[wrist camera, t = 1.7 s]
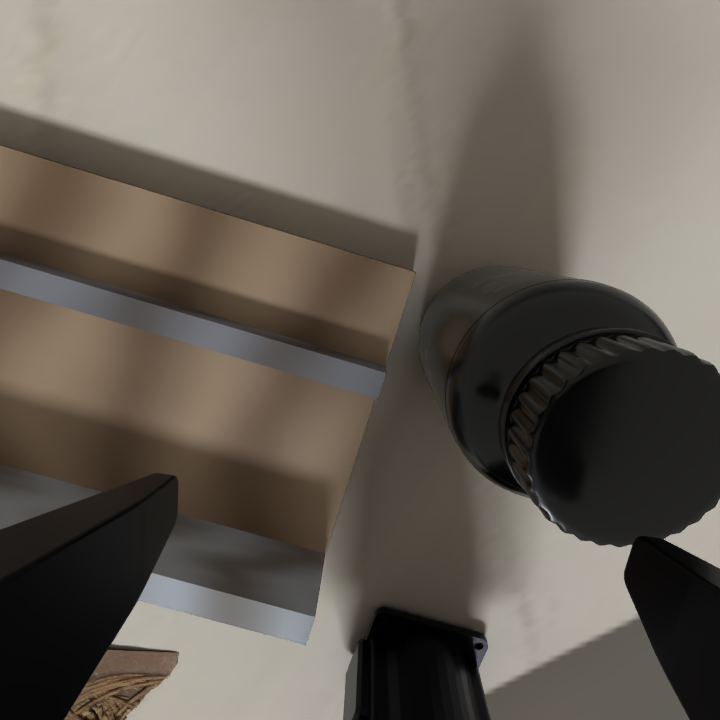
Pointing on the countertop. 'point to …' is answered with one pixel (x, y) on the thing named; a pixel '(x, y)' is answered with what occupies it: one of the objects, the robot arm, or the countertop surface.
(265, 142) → the countertop surface
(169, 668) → the wooden fragment
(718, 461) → the supplement bottle
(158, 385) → the cleat board
